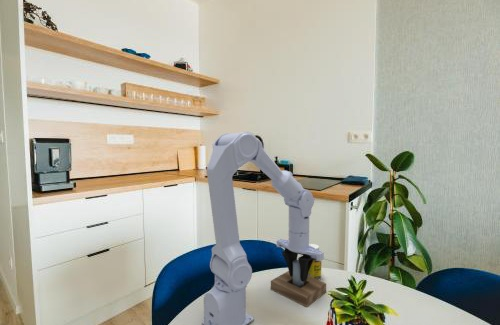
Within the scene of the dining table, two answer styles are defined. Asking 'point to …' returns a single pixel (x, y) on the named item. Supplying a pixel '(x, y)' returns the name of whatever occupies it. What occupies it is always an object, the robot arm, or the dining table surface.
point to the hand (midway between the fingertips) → (298, 277)
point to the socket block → (298, 289)
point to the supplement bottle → (315, 266)
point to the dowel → (297, 274)
